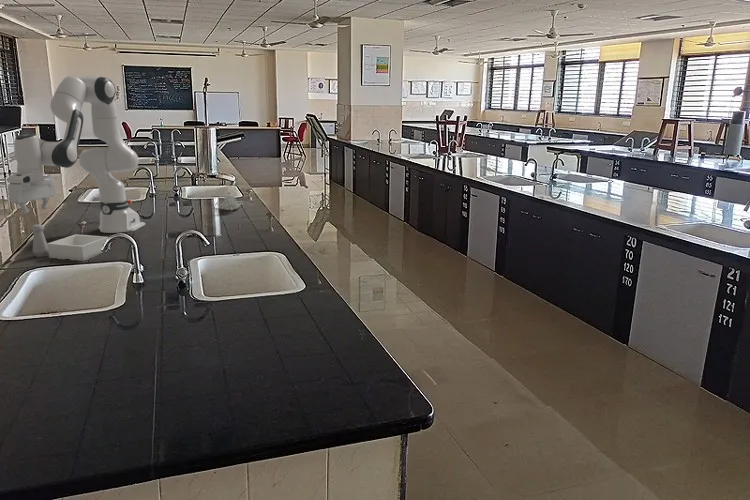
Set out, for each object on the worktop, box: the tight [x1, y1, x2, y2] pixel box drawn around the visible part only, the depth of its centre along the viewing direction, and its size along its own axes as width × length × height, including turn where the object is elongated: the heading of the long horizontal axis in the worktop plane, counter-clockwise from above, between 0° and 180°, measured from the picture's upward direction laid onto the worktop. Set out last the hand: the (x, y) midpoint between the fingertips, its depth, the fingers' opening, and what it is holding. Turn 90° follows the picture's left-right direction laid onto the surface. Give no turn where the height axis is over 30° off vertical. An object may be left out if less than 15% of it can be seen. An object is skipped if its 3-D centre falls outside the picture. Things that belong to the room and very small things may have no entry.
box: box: [47, 233, 111, 262], centre depth 237 cm, size 16×16×6 cm
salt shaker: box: [30, 223, 49, 258], centre depth 233 cm, size 6×6×13 cm
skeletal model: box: [214, 191, 244, 211], centre depth 329 cm, size 16×9×25 cm
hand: (35, 211), depth 230 cm, fingers open, 8 cm apart
